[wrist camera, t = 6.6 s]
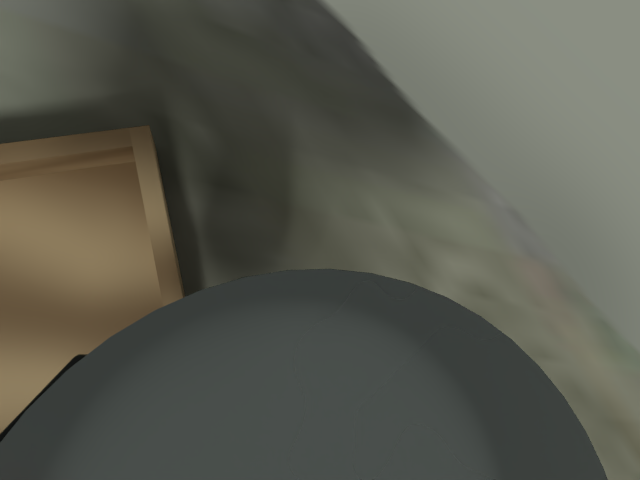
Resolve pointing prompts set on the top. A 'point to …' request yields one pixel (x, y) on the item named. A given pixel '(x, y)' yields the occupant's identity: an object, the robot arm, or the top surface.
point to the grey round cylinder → (303, 393)
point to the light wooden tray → (77, 251)
